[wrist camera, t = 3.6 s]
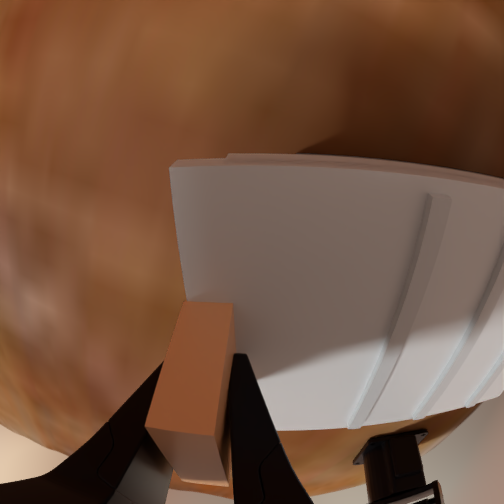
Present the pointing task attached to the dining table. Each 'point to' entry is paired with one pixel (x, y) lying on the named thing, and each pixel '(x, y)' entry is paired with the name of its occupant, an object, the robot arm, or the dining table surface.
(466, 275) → the lid
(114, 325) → the dining table surface
